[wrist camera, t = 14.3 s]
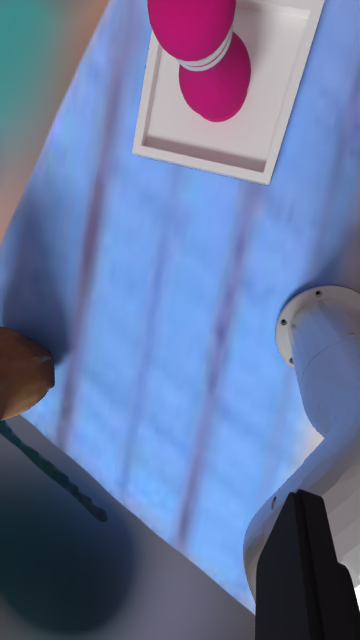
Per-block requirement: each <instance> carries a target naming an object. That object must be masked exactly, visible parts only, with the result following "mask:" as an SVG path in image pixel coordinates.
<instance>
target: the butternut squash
mask: <svg viewBox="0 0 360 640" xmlns="http://www.w3.org/2000/svg"><path fill="white" fill-rule="evenodd" d="M54 385H55V375H54V364H53V360H52V357H51V354H50V352H49V351H48V350H47V349H46V348H44V347H43V346H41V345H40V344H38V343H37V342H35V341H33V340H31V339H29V338H27V337H25V336H23V335H21V334H19V333H17V332H16V331H14V330H12V329H9V328H6V327H0V421H1V420H4V419H7V418H10V417H13V416H16V415H19V414H20V413H22V412H24V411H26V410H28V409H30V408H31V407H32V406H34V405H35V404H36V403H38V402H39V401H40V400H41V399H42V398H43V397H44V396H45V395H46V393H47V392H48V390H49V389H50V388H52V387H53V386H54Z"/></svg>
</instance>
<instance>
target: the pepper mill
mask: <svg viewBox="0 0 360 640" xmlns="http://www.w3.org/2000/svg"><path fill="white" fill-rule="evenodd" d="M147 1H148V13H149V19H150V24H151V27H152V29H153V32H154V34H155V37H156V39H157V40H158V42H159V43H160V45H161V46H162V48H163V49H164V50H165V51H166V52H167V53H168V54H169V55H171V56H173V57H174V58H176V60H177V61H178V63H179V64H180V65H179V84H180V89H181V92H182V94H183V97H184V99H185V101H186V103H187V104H188V105H189V107H190V108H191V109H192V110H193V111H195V112H196V113H198V114H200V115H201V116H202V117H203V118H204V119H206V120H208V121H211V122H223V121H226V120H228V119H230V118H232V117H233V116H234V115H236V114H237V113H238V111H239V110H240V109H241V107H242V106H243V104H244V101H245V99H246V95H247V89H248V86H249V83H250V77H251V63H250V58H249V54H248V51H247V48H246V46H245V44H244V43H243V41H242V40H241V38H240V37H239V36H238V35H237V34H236V33H234V32H233V20H234V14H235V8H236V0H147Z"/></svg>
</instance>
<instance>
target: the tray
mask: <svg viewBox="0 0 360 640" xmlns="http://www.w3.org/2000/svg"><path fill="white" fill-rule="evenodd" d="M324 1H325V0H236V8H235V14H234V20H233V32H234V33H236V34H237V35H238V36H239V37H240V38H241V40H242V41H243V43H244V44H245V46H246V48H247V51H248V54H249V58H250V63H251V77H250V83H249V86H248V89H247V95H246V99H245V101H244V104H243V106H242V107H241V109H240V110H239V111H238V113H237V114H236V115H234V116H233V117H232V118H230V119H228V120H226V121H223V122H211V121H208V120H206V119H204V118H203V117H202V116H201V115H200V114H198V113H196V112H195V111H193V110H192V109H191V108H190V107H189V105H188V104H187V103H186V101H185V99H184V97H183V94H182V92H181V89H180V84H179V65H180V64H179V63H178V61H177V60H176V58H174V57H173V56H171V55H169V54H168V53H167V52H166V51H165V50H164V49H163V48H162V46H161V45H160V43H159V42H158V40H157V39H156V37H155V34H154V32H153V29H152V33H151V39H150V46H149V52H148V58H147V64H146V70H145V77H144V83H143V89H142V95H141V101H140V107H139V114H138V120H137V126H136V132H135V138H134V144H133V151H132V153H134V154H135V155H137V156H140V157H144V158H149V159H153V160H157V161H162V162H166V163H170V164H175V165H179V166H183V167H188V168H192V169H196V170H201V171H205V172H209V173H214V174H218V175H222V176H227V177H231V178H235V179H240V180H244V181H248V182H253V183H257V184H262V185H266V186H269V183H270V180H271V177H272V173H273V170H274V167H275V163H276V160H277V157H278V153H279V150H280V147H281V144H282V140H283V137H284V134H285V130H286V127H287V124H288V120H289V117H290V114H291V111H292V107H293V104H294V101H295V97H296V94H297V91H298V87H299V84H300V81H301V77H302V74H303V71H304V68H305V64H306V61H307V58H308V54H309V51H310V48H311V44H312V41H313V38H314V35H315V31H316V28H317V25H318V21H319V18H320V15H321V11H322V8H323V4H324Z"/></svg>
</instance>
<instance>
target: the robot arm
mask: <svg viewBox="0 0 360 640" xmlns="http://www.w3.org/2000/svg"><path fill="white" fill-rule="evenodd" d="M316 291H319V292H320V293H319V294H316ZM283 319H285V322H282V320H283ZM275 339H276V344H277V347H278V350H279V353H280V354H281V356H282V358H283V359H284V360H285V362H286V363H287V364H288V365H289V366H290V367H292V368H293V369H294V370H295V372H296V377H297V381H298V385H299V389H300V394H301V397H302V402H303V406H304V409H305V412H306V414H307V417H308V419H309V420H310V422H311V424H312V425H313V427H314V428H315V429H316V430H317V431H318V432H319V433H320V434H321V435H322V436H323V437H324V438H325V439H324V440H323V441H322V442H321V443H320V444H319V445H318V447H317V448H316V449H315V450H314V451H313V452H312V453H311V454H310V455H309V456H308V457H307V458H306V459H305V461H304V462H303V464H302V465H301V466H300V467H299V468H298V469H297V471H296V472H295V473H294V474H293V475H292V476H291V477H290V478H289V479H288V480H287V481H286V482H285V483H284V484H283V485H282V486H281V487H280V488H279V489H278V490H277V491H276V492H275V493H274V494H273V495H272V496H271V497H270V498H269V499H268V500H267V501H266V502H265V504H264V505H263V506H262V507H261V508H260V509H259V510H258V512H257V513H256V514H255V515H254V517H253V518H252V520H251V522H250V524H249V526H248V528H247V530H246V534H245V538H244V543H243V563H244V569H245V574H246V578H247V582H248V585H249V588H250V591H251V593H252V596H253V598H254V601H255V603H256V617H255V619H256V620H255V623H256V624H255V640H360V294H359V293H358V292H356V291H353V290H351V289H349V288H346V287H342V286H336V285H323V286H317V287H313V288H309V289H307V290H305V291H303V292H301V293H299V294H297V295H296V296H295V297H293V298H292V299H291V300H290V301H289V302H288V303H287V304H286V305H285V306H284V308H283V309H282V311H281V312H280V314H279V317H278V319H277V322H276V327H275ZM290 358H292V360H291V359H290Z"/></svg>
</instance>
